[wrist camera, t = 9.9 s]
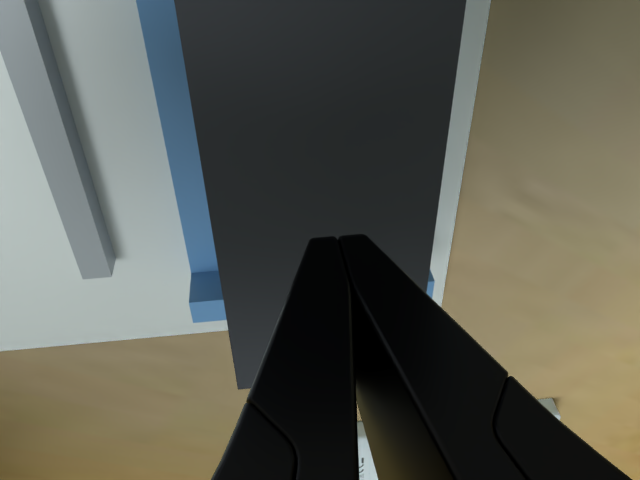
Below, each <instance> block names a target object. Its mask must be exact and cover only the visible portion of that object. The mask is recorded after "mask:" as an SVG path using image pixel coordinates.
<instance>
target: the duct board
mask: <svg viewBox="0 0 640 480" xmlns="http://www.w3.org/2000/svg"><path fill="white" fill-rule="evenodd" d="M490 4H491V0H467V1H466V8H465V15H464V23H463V30H462V37H461V44H460V52H459V59H458V66H457V74H456V81H455V88H454V96H453V103H452V110H451V118H450V125H449V132H448V139H447V147H446V154H445V161H444V169H443V176H442V183H441V191H440V198H439V205H438V213H437V220H436V227H435V234H434V242H433V249H432V256H431V264H430V271H429V278H428V286H427V294H428V295H429V296H430V297H431V298H432V299H433V300H434V301H435V302H436V303H437V304H438V305H439V306H440V307H441V304H442V298H443V292H444V286H445V280H446V274H447V268H448V261H449V255H450V249H451V243H452V237H453V231H454V225H455V219H456V212H457V206H458V200H459V194H460V188H461V182H462V176H463V170H464V163H465V157H466V151H467V145H468V139H469V133H470V127H471V121H472V114H473V108H474V102H475V96H476V90H477V84H478V78H479V72H480V65H481V59H482V53H483V47H484V41H485V35H486V29H487V23H488V17H489V10H490ZM226 330H228V325H227V319H226V313H225V307H224V301H223V295H222V289H221V283H220V276H219V270H218V264H217V258H216V252H215V246H214V240H213V234H212V228H211V222H210V216H209V210H208V204H207V197H206V191H205V185H204V179H203V173H202V167H201V161H200V155H199V149H198V143H197V137H196V131H195V125H194V118H193V112H192V106H191V100H190V94H189V88H188V82H187V76H186V70H185V64H184V58H183V52H182V46H181V39H180V33H179V27H178V21H177V15H176V9H175V3H174V0H0V351H9V350H20V349H31V348H41V347H52V346H63V345H74V344H85V343H96V342H107V341H118V340H129V339H139V338H150V337H161V336H172V335H183V334H194V333H205V332H216V331H226Z"/></svg>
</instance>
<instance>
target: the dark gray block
mask: <svg viewBox="0 0 640 480" xmlns="http://www.w3.org/2000/svg"><path fill="white" fill-rule="evenodd" d="M466 1H467V0H174V3H175V9H176V15H177V21H178V27H179V33H180V39H181V46H182V52H183V58H184V64H185V70H186V76H187V82H188V88H189V94H190V100H191V106H192V112H193V118H194V125H195V131H196V137H197V143H198V149H199V155H200V161H201V167H202V173H203V179H204V185H205V191H206V197H207V204H208V210H209V216H210V222H211V228H212V234H213V240H214V246H215V252H216V258H217V264H218V270H219V276H220V283H221V289H222V295H223V301H224V307H225V313H226V319H227V325H228V331H229V337H230V343H231V349H232V355H233V362H234V368H235V374H236V380H237V386H238V389H247V388H251V387H252V384H253V382H254V379H255V377H256V374H257V372H258V369H259V367H260V364H261V362H262V359H263V356H264V354H265V351H266V349H267V346H268V344H269V341H270V339H271V336H272V334H273V331H274V328H275V326H276V323H277V321H278V318H279V316H280V313H281V311H282V308H283V305H284V303H285V300H286V298H287V295H288V293H289V290H290V288H291V285H292V283H293V280H294V277H295V275H296V272H297V270H298V267H299V265H300V262H301V260H302V257H303V255H304V252H305V249H306V247H307V244H308V242H309V240H310V239H312V238H316V237H328V236H334V237H336V238H337V239H338V238H339V237H340V236H342V235H353V234H364V235H366V236H368V237H369V238H370V239H371V240H372V241H373V242H374V243H375V244H376V245H377V246H378V247H379V248H380V249H381V250H382V251H383V252H384V253H385V254H386V255H387V256H388V257H389V258H390V259H391V260H393V261H394V262H395V263H396V264H397V265H398V266H399V267H400V268H401V269H402V270H403V271H404V272H405V273H406V274H407V275H408V276H409V277H410V278H411V279H412V280H413V281H414V282H415V283H416V284H417V285H418V286H419V287H420V288H421V289H422V290H424V291H425V292H426V293H427V286H428V278H429V271H430V264H431V256H432V249H433V242H434V234H435V227H436V220H437V213H438V205H439V198H440V191H441V183H442V176H443V169H444V161H445V154H446V147H447V139H448V132H449V125H450V118H451V110H452V103H453V96H454V88H455V81H456V74H457V66H458V59H459V52H460V44H461V37H462V30H463V23H464V15H465V8H466Z"/></svg>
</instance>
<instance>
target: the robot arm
mask: <svg viewBox="0 0 640 480" xmlns="http://www.w3.org/2000/svg"><path fill="white" fill-rule="evenodd" d="M356 400H357V403H356ZM357 404H358V408H359V411H360V415H361V419H362V422H363V426H364V430H365V433H366V437H367V440H368V444H369V448H370V451H371V455H372V459H373V462H374V466H375V470H376V473H377V477H378V480H632V479H631V478H629V477H628V476H627V475H626V474H624V473H623V472H622V471H621V470H619V469H618V468H617V467H616V466H614V465H613V464H612V463H611V462H609V461H608V460H607V459H605V458H604V457H603V456H602V455H600V454H599V453H598V452H597V451H596V450H594V449H593V448H592V447H591V446H590V445H588V444H587V443H586V442H585V441H584V440H582V439H581V438H580V437H579V436H577V435H576V434H575V433H574V432H573V431H571V430H570V429H569V428H568V427H567V426H565V425H564V424H563V423H562V422H561V421H560V420H559V419H557V418H556V417H555V416H554V415H553V414H552V413H551V412H550V411H549V410H548V409H547V408H545V407H544V406H543V405H542V404H541V403H540V402H539V401H538V400H537V399H536V398H535V397H533V396H532V395H531V394H530V393H529V392H528V391H527V390H526V389H525V388H524V387H523V386H522V385H521V384H520V383H519V382H518V381H517V380H516V379H515V378H514V377H512V376H509V377H508V372H507V371H506V370H505V369H504V368H503V367H502V366H501V365H500V364H499V363H498V362H497V361H496V360H495V359H494V358H493V357H492V356H491V355H490V354H489V353H488V352H487V351H486V350H484V349H483V348H482V347H481V346H480V345H479V344H478V343H477V342H476V341H475V340H474V339H473V338H472V337H471V336H470V335H469V334H468V333H467V332H466V331H465V330H464V329H463V328H462V327H461V326H460V325H459V324H458V323H457V322H456V321H455V320H453V319H452V318H451V317H450V316H449V315H448V314H447V313H446V312H445V311H444V310H443V309H442V308H441V307H440V306H439V305H438V304H437V303H436V302H435V301H434V300H433V299H432V298H431V297H430V296H429V295H428V294H427V293H426V292H425V291H424V290H422V289H421V288H420V287H419V286H418V285H417V284H416V283H415V282H414V281H413V280H412V279H411V278H410V277H409V276H408V275H407V274H406V273H405V272H404V271H403V270H402V269H401V268H400V267H399V266H398V265H397V264H396V263H395V262H394V261H393V260H391V259H390V258H389V257H388V256H387V255H386V254H385V253H384V252H383V251H382V250H381V249H380V248H379V247H378V246H377V245H376V244H375V243H374V242H373V241H372V240H371V239H370V238H369V237H368V236H366V235H364V234H353V235H342V236H340V237H339V238H338V239H337V238H336V237H334V236H328V237H316V238H312V239H310V240H309V242H308V244H307V247H306V249H305V252H304V255H303V257H302V260H301V262H300V265H299V267H298V270H297V272H296V275H295V277H294V280H293V283H292V285H291V288H290V290H289V293H288V295H287V298H286V300H285V303H284V305H283V308H282V311H281V313H280V316H279V318H278V321H277V323H276V326H275V328H274V331H273V334H272V336H271V339H270V341H269V344H268V346H267V349H266V351H265V354H264V356H263V359H262V362H261V364H260V367H259V369H258V372H257V374H256V377H255V379H254V382H253V384H252V387H251V390H250V392H249V395H248V397H247V403H246V404H245V405H244V407H243V409H242V412H241V414H240V417H239V419H238V422H237V424H236V427H235V429H234V431H233V434H232V436H231V438H230V441H229V443H228V445H227V447H226V450H225V452H224V454H223V457H222V459H221V461H220V463H219V465H218V467H217V469H216V471H215V473H214V475H213V477H212V479H211V480H359V455H358V429H357Z"/></svg>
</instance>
